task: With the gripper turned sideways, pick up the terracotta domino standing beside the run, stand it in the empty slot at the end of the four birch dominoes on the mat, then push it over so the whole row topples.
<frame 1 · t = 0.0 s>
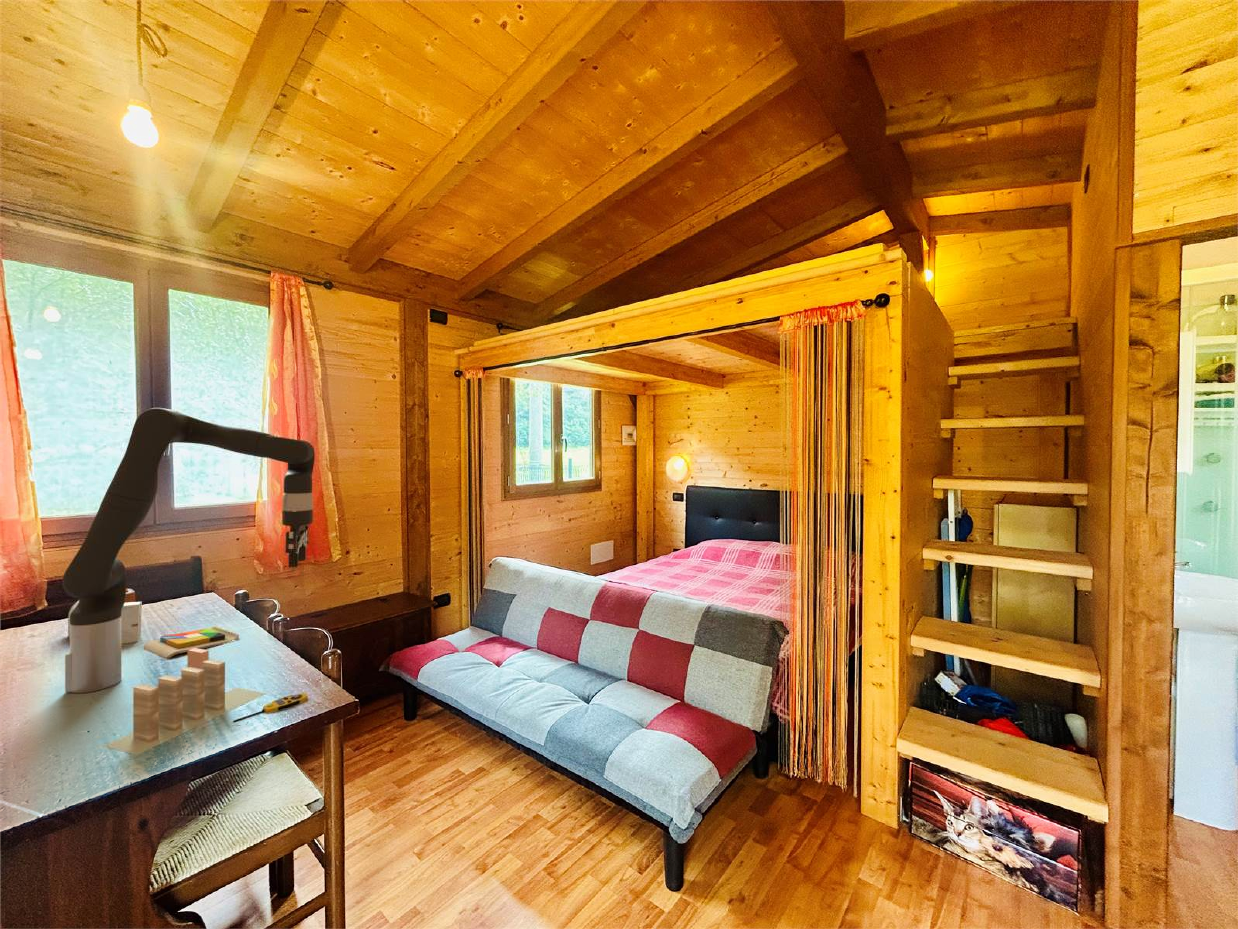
hand: (297, 563, 144), 29 cm above the table, tool pointing down, fingers open, 8 cm apart
domino 4: (145, 738, 105), resting on mat
domino 3: (170, 727, 109), resting on mat
alarm clock: (102, 633, 165), on the table
domino 2: (192, 717, 114), resting on mat
yellow screwdriver: (271, 713, 118), on the table
mat: (192, 718, 114), on the table
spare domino: (197, 693, 125), on the table
skincare box: (127, 642, 158), on the table
domino 1: (213, 707, 118), resting on mat
wooden puzzle: (192, 645, 157), on the table
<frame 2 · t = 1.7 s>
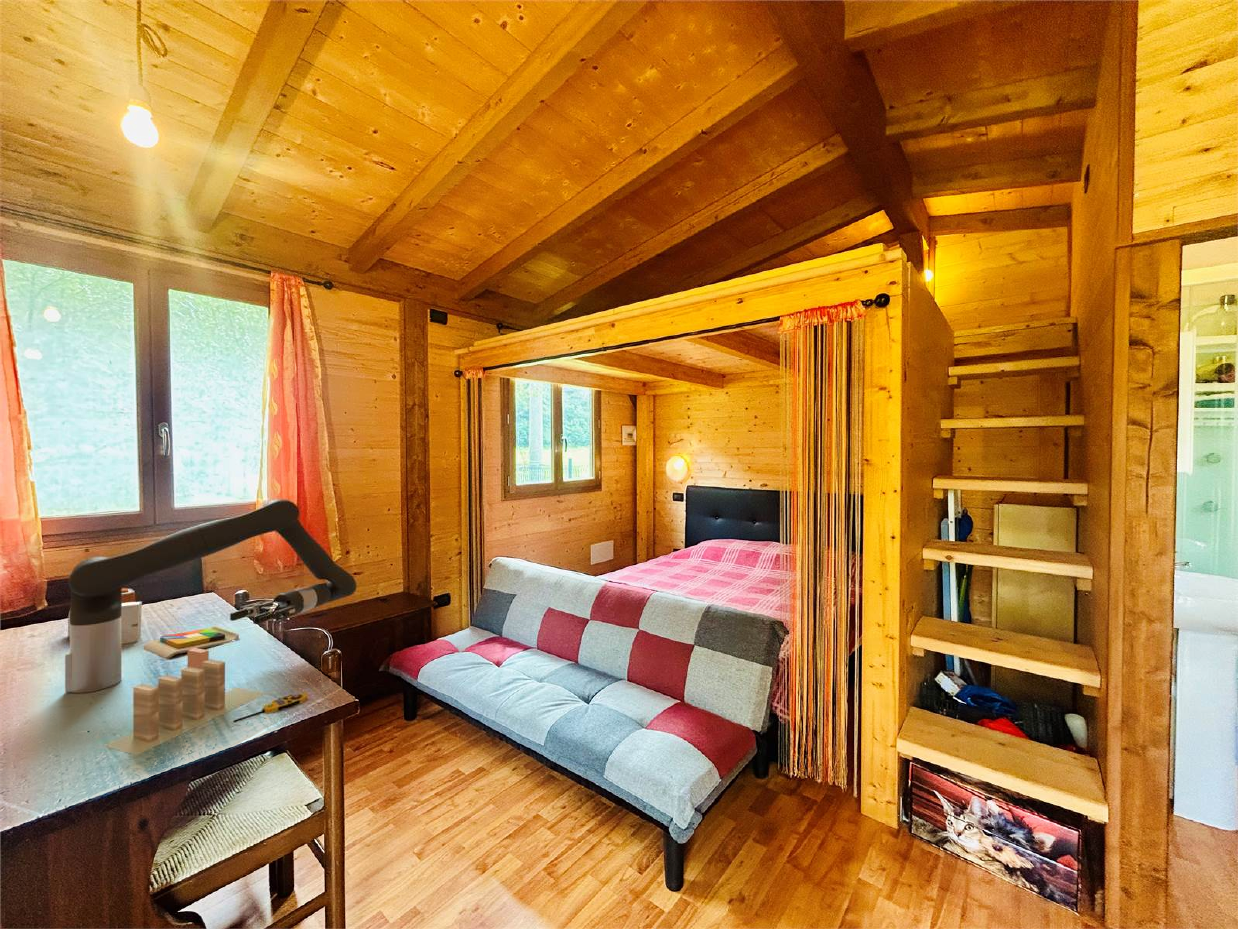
hand: (242, 618, 136), 16 cm above the table, tool horizontal, fingers open, 8 cm apart
nothing on the table moved.
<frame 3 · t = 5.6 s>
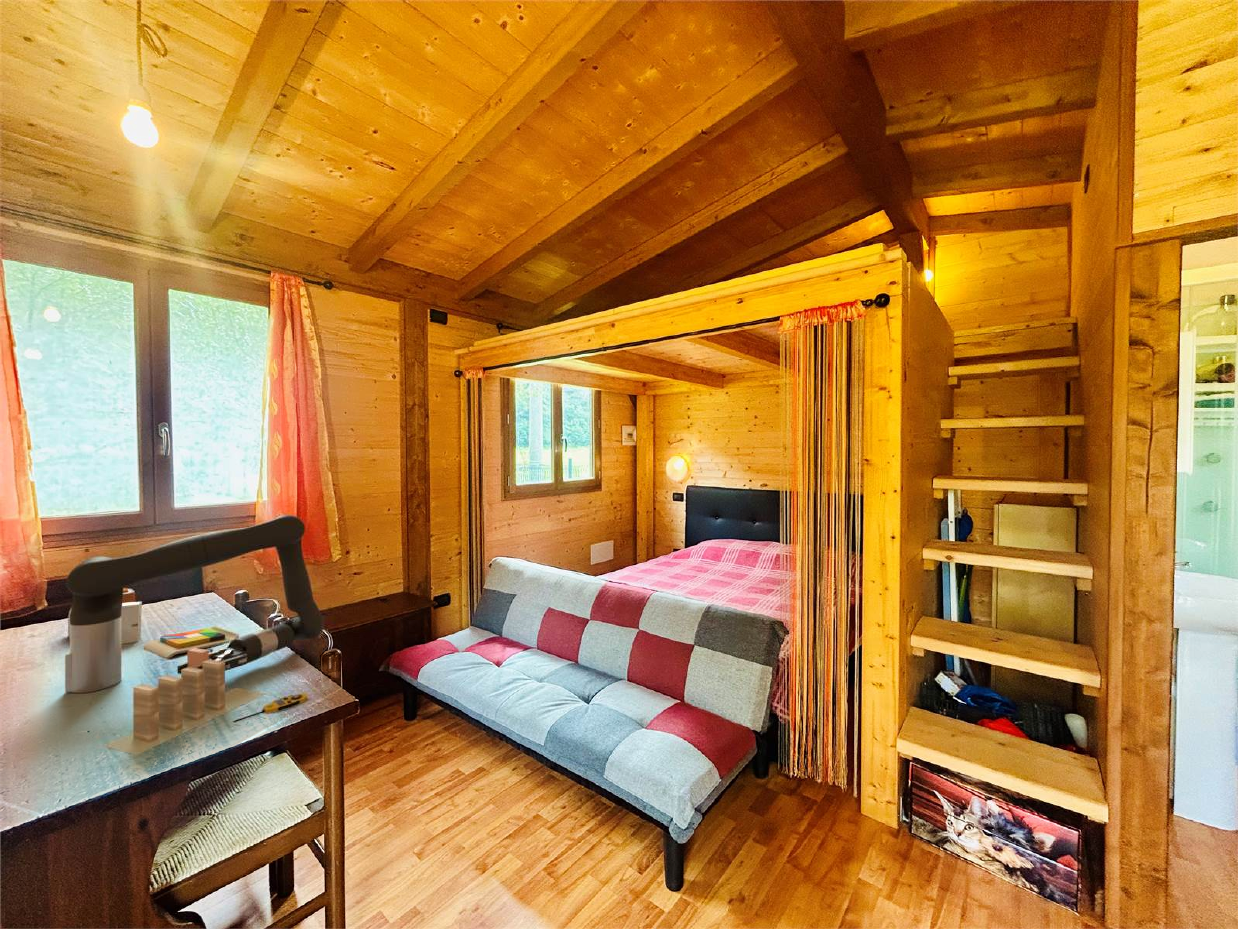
hand: (186, 671, 123), 7 cm above the table, tool horizontal, fingers closed on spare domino, 5 cm apart
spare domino: (198, 693, 125), on the table, touching gripper
everything else where it was.
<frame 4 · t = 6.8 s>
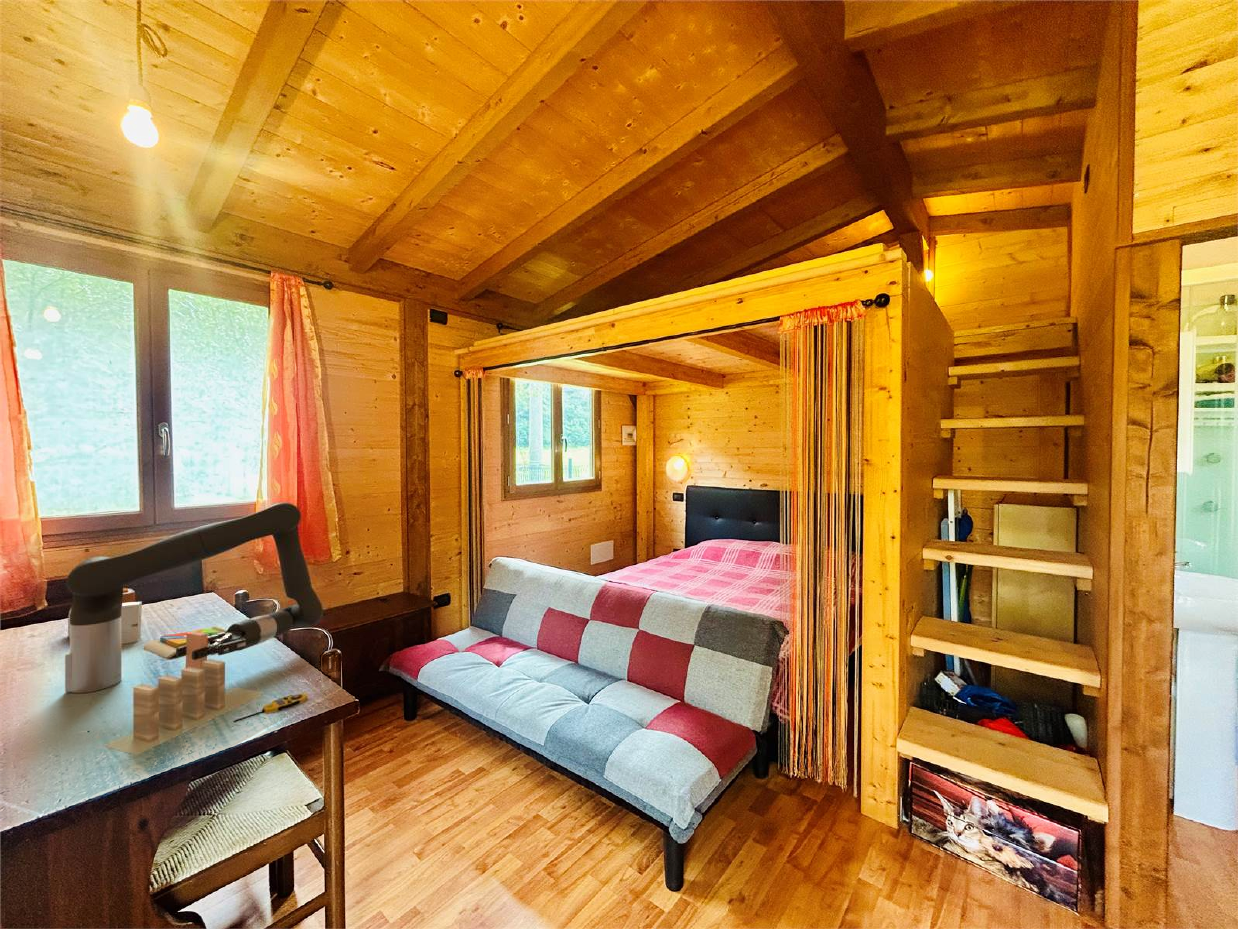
hand: (185, 654, 123), 11 cm above the table, tool horizontal, fingers closed on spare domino, 5 cm apart
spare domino: (196, 676, 125), point 4 cm above the table, touching gripper
everything else where it was.
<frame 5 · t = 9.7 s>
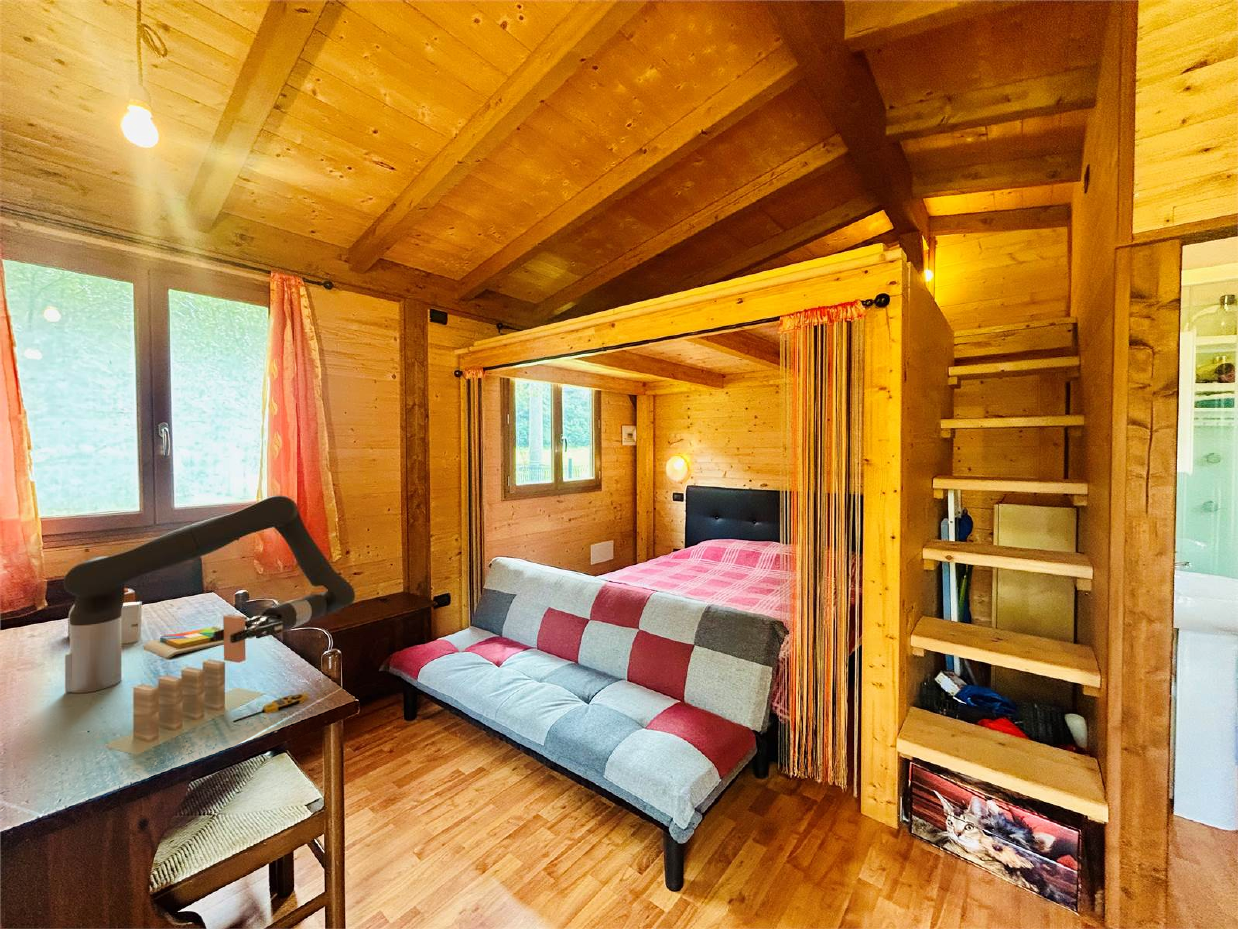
hand: (223, 637, 120), 17 cm above the table, tool horizontal, fingers closed on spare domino, 5 cm apart
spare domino: (234, 660, 122), point 10 cm above the table, touching gripper
everything else where it was.
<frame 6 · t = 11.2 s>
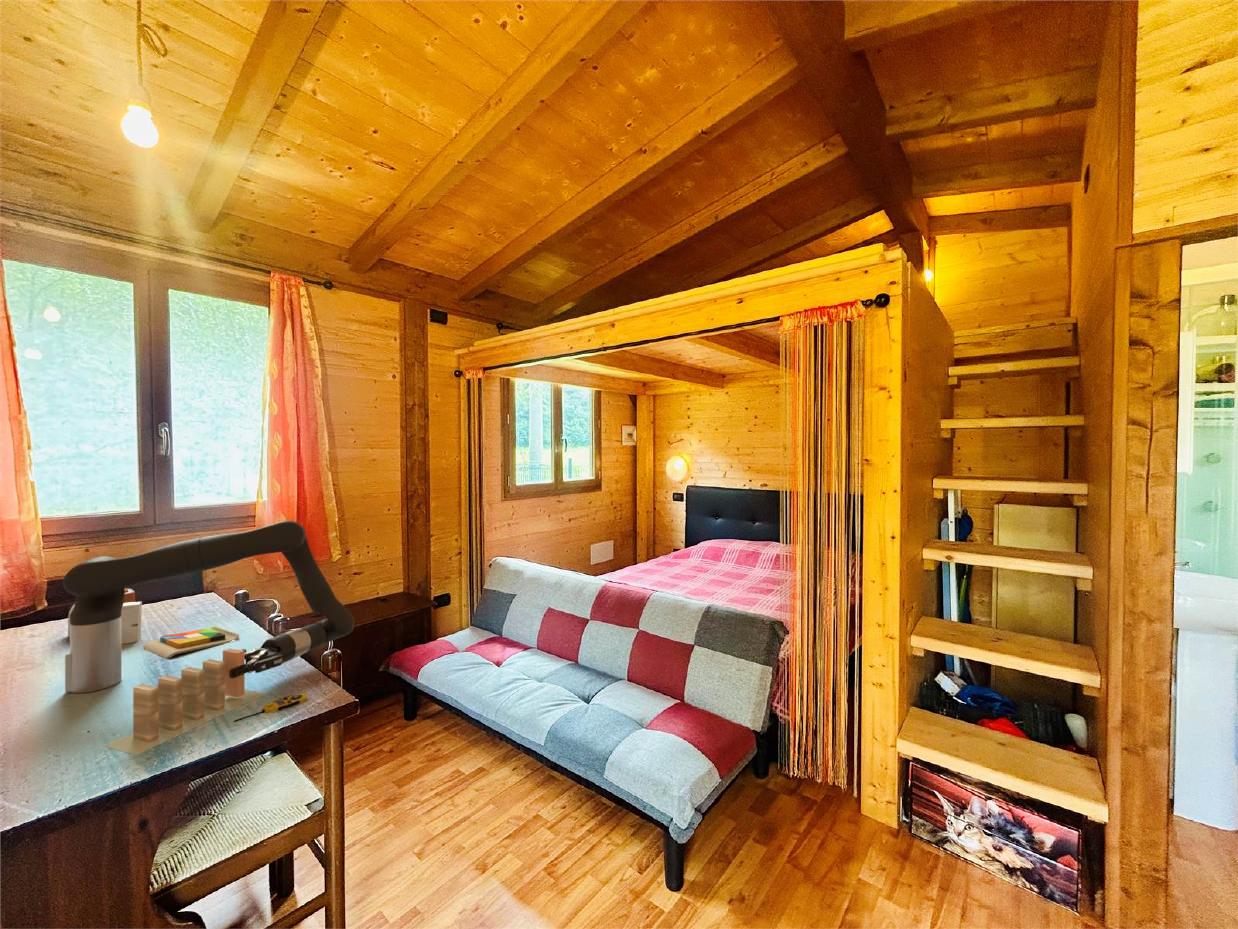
hand: (222, 672, 120), 8 cm above the table, tool horizontal, fingers closed on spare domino, 5 cm apart
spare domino: (233, 694, 122), point 1 cm above the table, touching gripper
everything else where it was.
when the fingers open (8 cm above the table, at t = 11.6 s): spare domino stays where it is, resting on mat.
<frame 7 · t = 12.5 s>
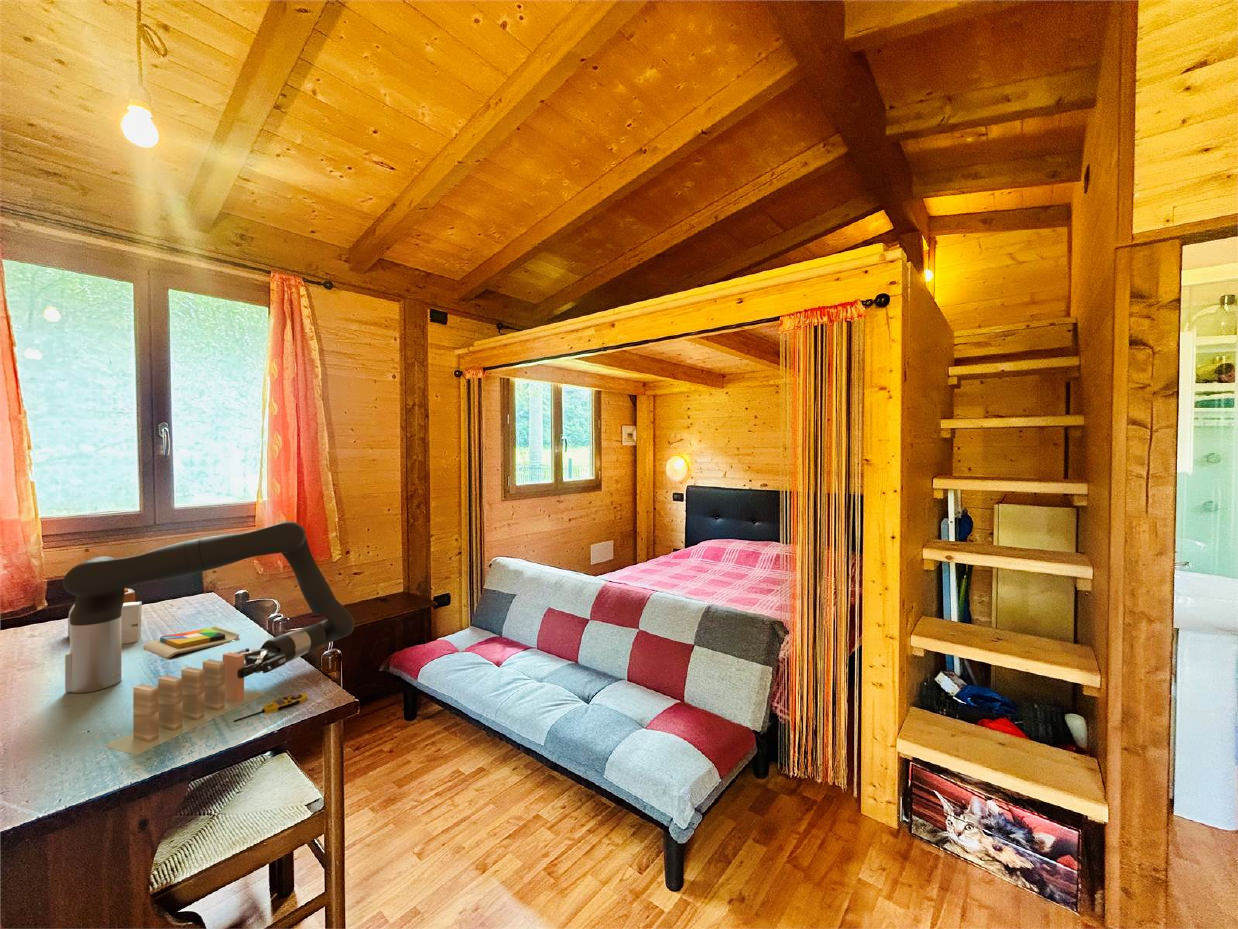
hand: (225, 672, 120), 8 cm above the table, tool horizontal, fingers open, 8 cm apart
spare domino: (233, 698, 122), resting on mat
everything else where it was.
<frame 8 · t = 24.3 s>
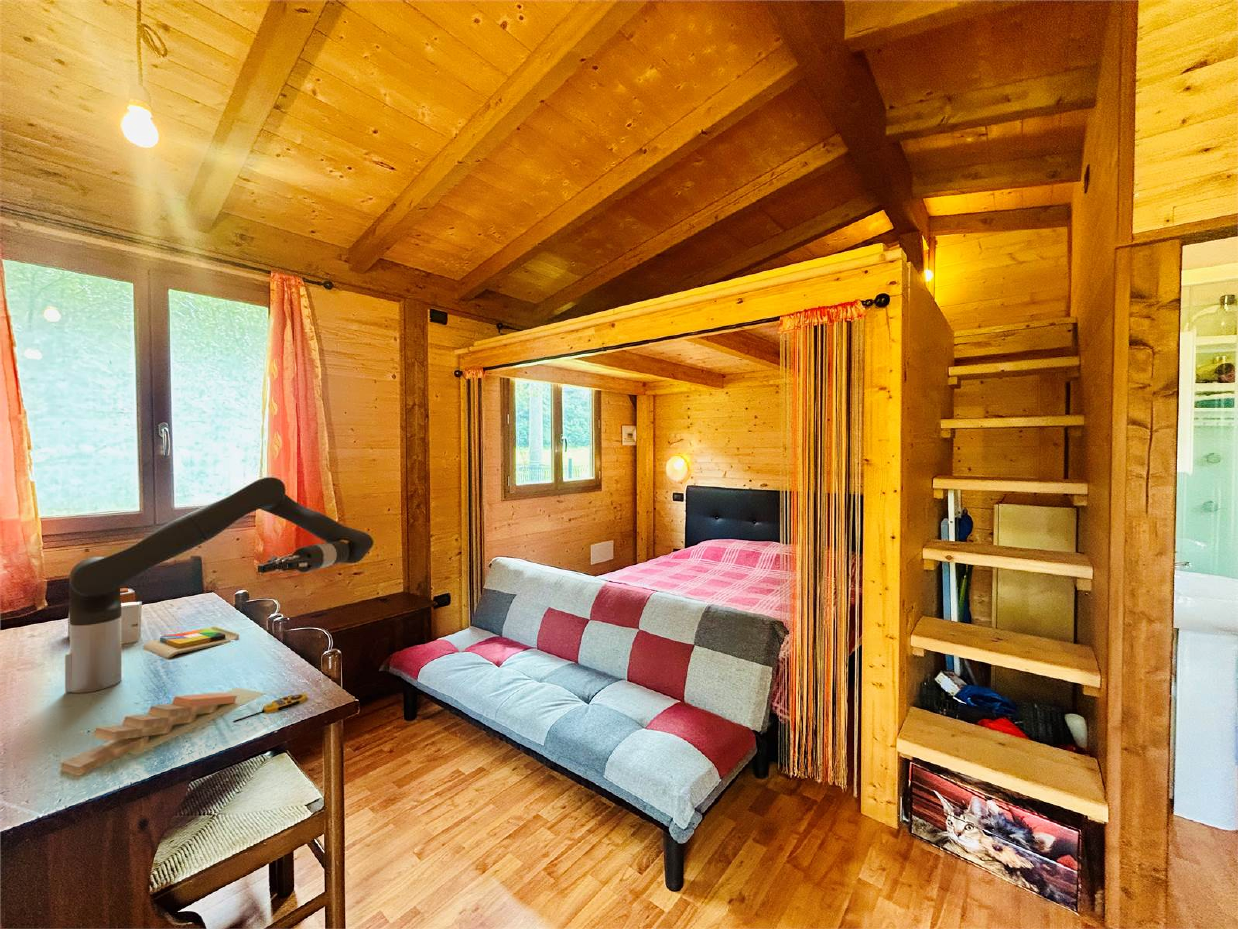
hand: (259, 569, 133), 30 cm above the table, tool horizontal, fingers closed
domino 4: (140, 737, 104), point 1 cm above the table, tilted 90°, touching domino 3, mat
domino 3: (162, 726, 108), point 1 cm above the table, tilted 69°, touching domino 2, domino 4
domino 2: (187, 716, 112), point 1 cm above the table, tilted 69°, touching domino 1, domino 3, mat
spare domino: (228, 697, 121), point 1 cm above the table, tilted 69°, touching domino 1, mat
domino 1: (208, 706, 117), point 1 cm above the table, tilted 69°, touching domino 2, mat, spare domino
everything else where it was.
at the end: domino 4 tilted 90°; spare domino tilted 69°; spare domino inside the target area (0.9 cm from its centre), point 1.1 cm above the table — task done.
